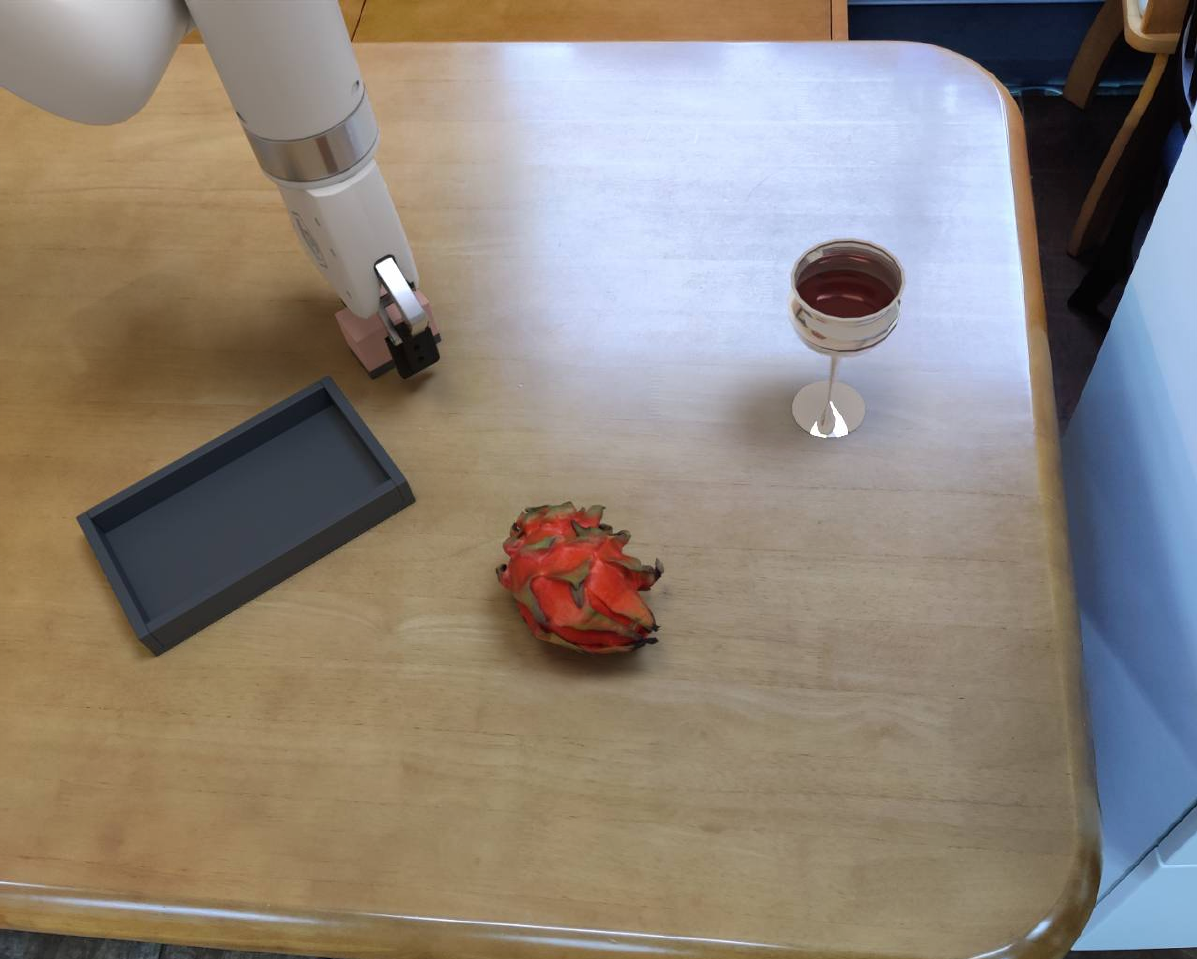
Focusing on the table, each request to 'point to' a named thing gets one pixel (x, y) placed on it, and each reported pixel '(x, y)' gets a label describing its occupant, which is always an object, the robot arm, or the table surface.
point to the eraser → (376, 335)
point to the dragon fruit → (578, 580)
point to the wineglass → (841, 322)
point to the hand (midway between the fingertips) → (390, 330)
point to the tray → (242, 514)
